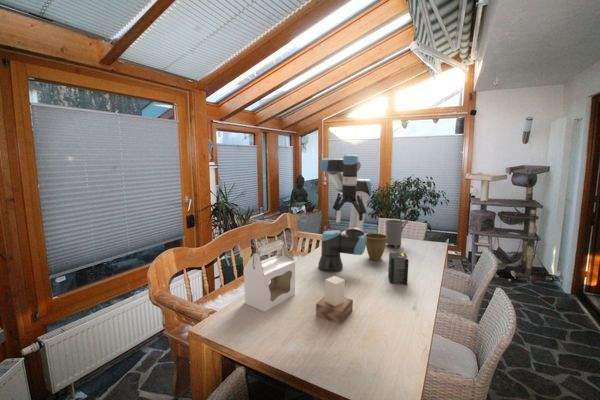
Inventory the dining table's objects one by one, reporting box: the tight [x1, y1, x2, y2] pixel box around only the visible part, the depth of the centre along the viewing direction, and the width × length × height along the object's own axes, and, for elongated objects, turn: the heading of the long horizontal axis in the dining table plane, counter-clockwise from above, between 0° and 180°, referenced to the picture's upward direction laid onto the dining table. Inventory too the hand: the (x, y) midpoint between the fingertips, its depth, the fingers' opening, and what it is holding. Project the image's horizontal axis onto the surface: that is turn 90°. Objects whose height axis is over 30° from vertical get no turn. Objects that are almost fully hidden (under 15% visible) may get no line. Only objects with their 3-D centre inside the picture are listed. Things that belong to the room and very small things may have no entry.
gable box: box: [243, 239, 296, 313], centre depth 138 cm, size 22×13×28 cm, turn 142°
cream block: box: [324, 275, 346, 306], centre depth 125 cm, size 6×6×10 cm
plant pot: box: [364, 233, 387, 261], centre depth 196 cm, size 15×15×16 cm
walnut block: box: [315, 295, 354, 325], centre depth 126 cm, size 12×12×6 cm
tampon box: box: [387, 251, 410, 286], centre depth 161 cm, size 11×9×15 cm
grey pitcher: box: [384, 215, 410, 250], centre depth 223 cm, size 19×15×25 cm
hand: (348, 224), depth 154 cm, fingers open, 13 cm apart
